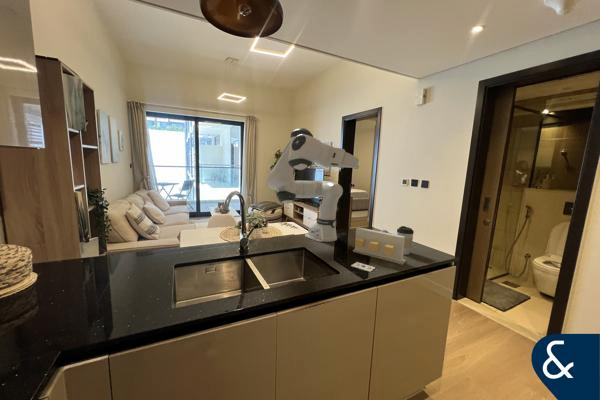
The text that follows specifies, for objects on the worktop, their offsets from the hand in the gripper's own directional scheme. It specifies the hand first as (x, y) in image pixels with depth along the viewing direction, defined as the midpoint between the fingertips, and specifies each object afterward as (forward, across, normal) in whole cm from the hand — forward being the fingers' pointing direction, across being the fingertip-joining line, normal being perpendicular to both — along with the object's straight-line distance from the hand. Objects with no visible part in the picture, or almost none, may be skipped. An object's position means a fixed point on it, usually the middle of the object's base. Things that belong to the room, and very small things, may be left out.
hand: (349, 167), depth 111 cm
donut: (+59, -16, -32) cm, 69 cm away
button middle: (+36, -3, -34) cm, 50 cm away
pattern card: (+25, +2, -43) cm, 50 cm away
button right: (+39, +5, -33) cm, 51 cm away
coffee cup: (+59, -1, -32) cm, 67 cm away
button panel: (+42, -4, -38) cm, 56 cm away
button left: (+34, -10, -35) cm, 49 cm away
